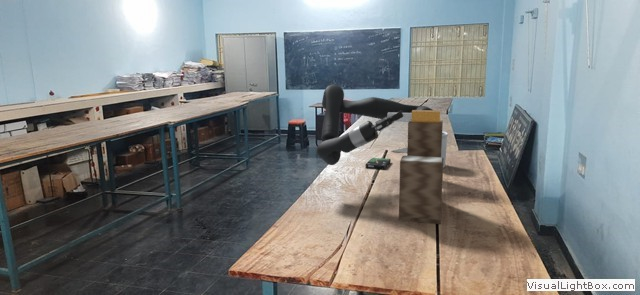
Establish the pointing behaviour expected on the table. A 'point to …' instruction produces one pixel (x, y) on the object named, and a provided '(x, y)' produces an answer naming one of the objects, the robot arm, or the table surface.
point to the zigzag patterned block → (422, 174)
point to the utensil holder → (444, 146)
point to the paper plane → (401, 150)
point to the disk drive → (378, 163)
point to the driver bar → (419, 116)
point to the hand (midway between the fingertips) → (402, 113)
